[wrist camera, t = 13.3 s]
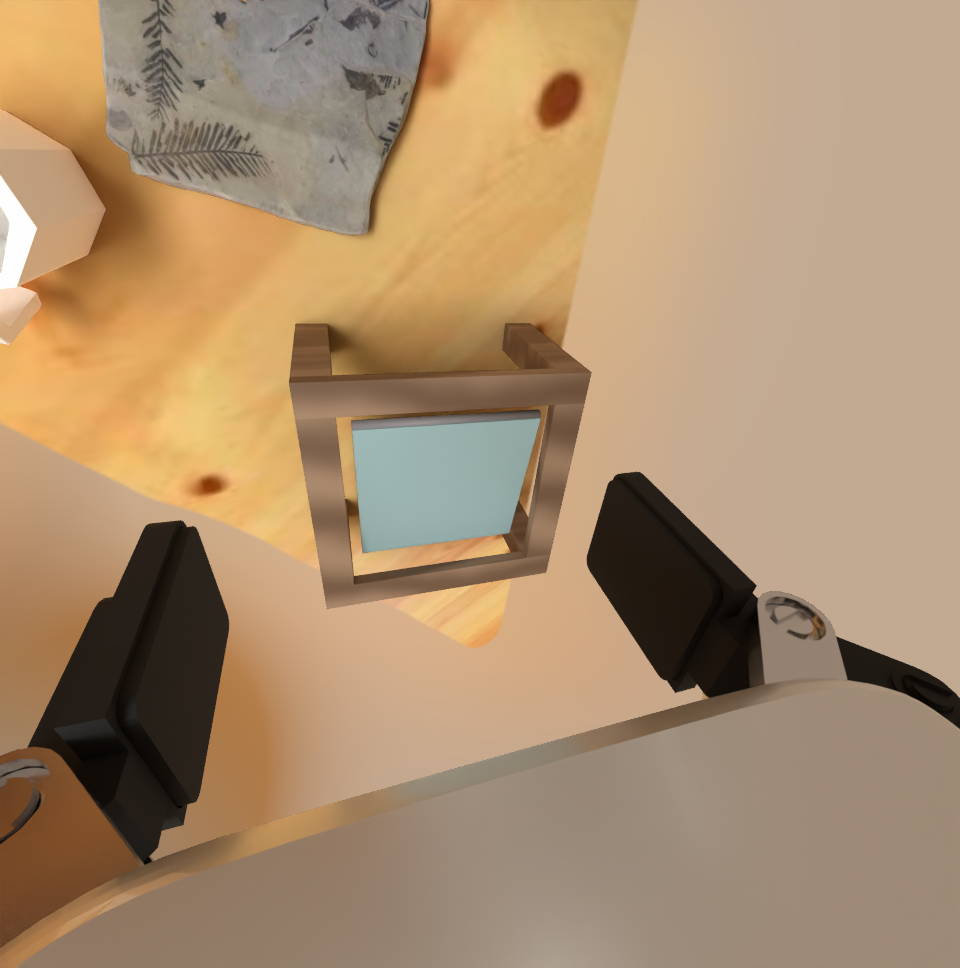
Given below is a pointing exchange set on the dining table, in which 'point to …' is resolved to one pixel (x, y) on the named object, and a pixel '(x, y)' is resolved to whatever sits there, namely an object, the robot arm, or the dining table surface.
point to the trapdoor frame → (536, 384)
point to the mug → (38, 217)
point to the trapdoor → (440, 476)
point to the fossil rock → (263, 98)
